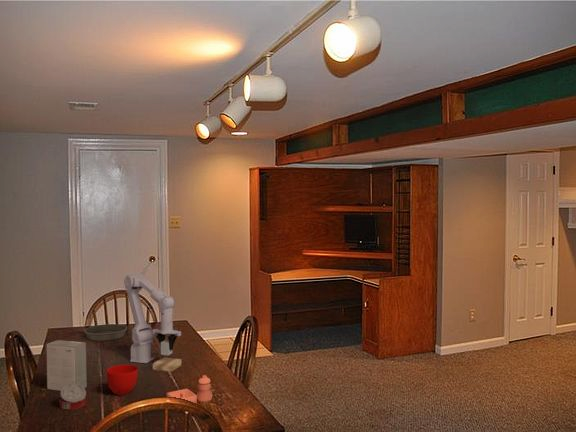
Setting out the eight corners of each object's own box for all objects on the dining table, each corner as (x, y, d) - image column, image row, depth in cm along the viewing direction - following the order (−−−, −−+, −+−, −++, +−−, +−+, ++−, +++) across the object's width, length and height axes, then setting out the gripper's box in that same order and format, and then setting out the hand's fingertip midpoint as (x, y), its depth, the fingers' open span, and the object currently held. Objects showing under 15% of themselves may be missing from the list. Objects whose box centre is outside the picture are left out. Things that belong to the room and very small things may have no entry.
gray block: (160, 354, 269) (160, 342, 269) (165, 352, 273) (164, 340, 272) (168, 355, 268) (168, 343, 267) (172, 353, 272) (172, 340, 271)
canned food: (83, 412, 228) (95, 390, 229) (74, 419, 218) (87, 396, 218) (59, 399, 228) (71, 377, 229) (49, 406, 218) (61, 383, 219)
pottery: (175, 410, 218) (175, 385, 218) (166, 402, 226) (166, 379, 225) (216, 401, 228) (216, 377, 228) (206, 394, 236) (206, 371, 235)
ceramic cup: (121, 382, 249) (121, 360, 248) (144, 391, 238) (144, 368, 238) (95, 390, 239) (95, 367, 238) (118, 400, 228) (117, 376, 228)
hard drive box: (87, 387, 243) (86, 342, 242) (75, 393, 236) (74, 347, 235) (58, 383, 248) (58, 339, 247) (46, 389, 241) (45, 343, 240)
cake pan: (116, 328, 348) (116, 321, 348) (134, 336, 330) (134, 329, 330) (77, 335, 331) (77, 328, 331) (94, 344, 313) (94, 336, 313)
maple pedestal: (152, 369, 268) (152, 363, 268) (163, 363, 277) (163, 357, 277) (171, 371, 265) (171, 365, 265) (181, 365, 274) (181, 359, 274)
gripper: (149, 322, 268) (149, 350, 269) (176, 324, 264) (176, 352, 265) (156, 319, 275) (157, 346, 276) (183, 321, 271) (183, 348, 271)
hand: (167, 349), depth 271 cm, fingers closed on gray block, 4 cm apart
